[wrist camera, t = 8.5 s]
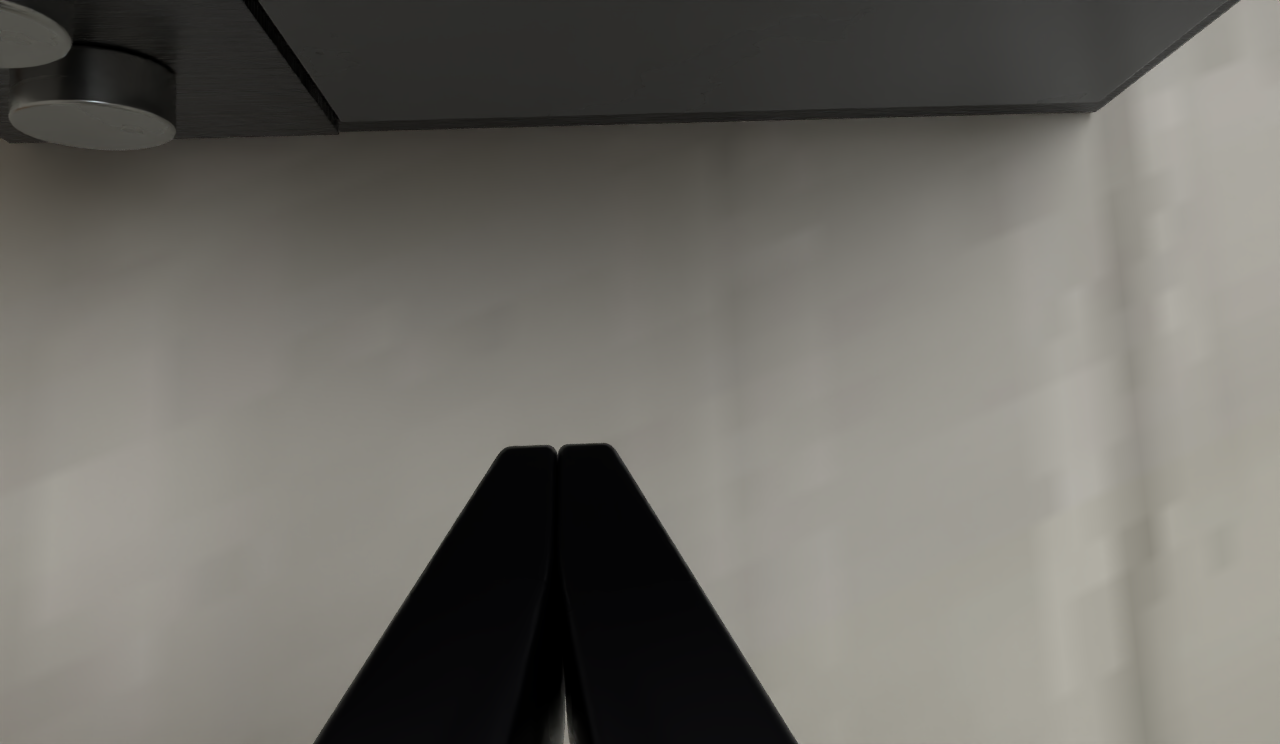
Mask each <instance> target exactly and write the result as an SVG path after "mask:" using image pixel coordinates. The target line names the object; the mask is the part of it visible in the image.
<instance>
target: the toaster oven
mask: <svg viewBox="0 0 1280 744" xmlns="http://www.w3.org/2000/svg"><path fill="white" fill-rule="evenodd" d="M1239 1H1240V0H0V138H2V139H4V140H5V141H7V142H9V143H39V142H51V143H55V144H60V145H65V146H70V147H77V148H85V149H95V150H137V149H145V148H151V147H156V146H159V145H163V144H165V143H168V142H169V141H171V140H172V139H190V138H228V137H265V136H303V135H338V134H339V132H350V131H388V130H426V129H464V128H502V127H539V126H577V125H615V124H653V123H691V122H729V121H767V120H805V119H843V118H880V117H918V116H956V115H994V114H1032V113H1070V112H1096V111H1098V110H1099V109H1101V108H1102V107H1103V106H1105V105H1106V104H1107V103H1108V102H1110V101H1111V100H1112V99H1114V98H1115V97H1116V96H1117V95H1119V94H1120V93H1121V92H1123V91H1124V90H1125V89H1127V88H1128V87H1129V86H1130V85H1132V84H1133V83H1134V82H1136V81H1137V80H1138V79H1139V78H1141V77H1142V76H1143V75H1145V74H1146V73H1147V72H1149V71H1150V70H1151V69H1152V68H1154V67H1155V66H1156V65H1158V64H1159V63H1160V62H1161V61H1163V60H1164V59H1165V58H1167V57H1168V56H1169V55H1171V54H1172V53H1173V52H1174V51H1176V50H1177V49H1178V48H1180V47H1181V46H1182V45H1183V44H1185V43H1186V42H1187V41H1189V40H1190V39H1191V38H1192V37H1194V36H1195V35H1196V34H1198V33H1199V32H1200V31H1202V30H1203V29H1204V28H1205V27H1207V26H1208V25H1209V24H1211V23H1212V22H1213V21H1214V20H1216V19H1217V18H1218V17H1220V16H1221V15H1222V14H1224V13H1225V12H1226V11H1227V10H1229V9H1230V8H1231V7H1233V6H1234V5H1235V4H1236V3H1238V2H1239Z"/></svg>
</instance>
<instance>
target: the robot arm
mask: <svg viewBox="0 0 1280 744" xmlns="http://www.w3.org/2000/svg"><path fill="white" fill-rule="evenodd" d="M565 696H566V711H567V725H568V733H569V742H570V744H798V743H797V741H796V740H795V738H794V736H793V735H792V733H791V732H790V730H789V728H788V727H787V725H786V723H785V722H784V720H783V719H782V717H781V715H780V714H779V712H778V711H777V709H776V707H775V706H774V704H773V703H772V701H771V699H770V698H769V696H768V694H767V693H766V691H765V690H764V688H763V686H762V685H761V683H760V682H759V680H758V678H757V677H756V675H755V674H754V672H753V670H752V669H751V667H750V665H749V664H748V662H747V661H746V659H745V657H744V656H743V654H742V653H741V651H740V649H739V648H738V646H737V644H736V643H735V641H734V640H733V638H732V636H731V635H730V633H729V632H728V630H727V628H726V627H725V625H724V624H723V622H722V620H721V619H720V617H719V615H718V614H717V612H716V611H715V609H714V607H713V606H712V604H711V603H710V601H709V599H708V598H707V596H706V595H705V593H704V591H703V590H702V588H701V586H700V585H699V583H698V582H697V580H696V578H695V577H694V575H693V574H692V572H691V570H690V569H689V567H688V566H687V564H686V562H685V561H684V559H683V557H682V556H681V554H680V553H679V551H678V549H677V548H676V546H675V545H674V543H673V541H672V540H671V538H670V537H669V535H668V533H667V532H666V530H665V528H664V527H663V525H662V524H661V522H660V520H659V519H658V517H657V516H656V514H655V512H654V511H653V509H652V508H651V506H650V504H649V503H648V501H647V499H646V498H645V496H644V495H643V493H642V491H641V490H640V488H639V487H638V485H637V483H636V482H635V480H634V479H633V477H632V475H631V474H630V472H629V470H628V469H627V467H626V466H625V464H624V462H623V461H622V459H621V458H620V456H619V454H618V453H617V451H616V450H615V449H614V448H613V447H612V446H611V445H609V444H607V443H587V444H566V445H563V446H562V447H561V448H560V449H559V451H558V455H557V451H556V450H555V448H554V447H552V446H550V445H532V446H510V447H506V448H504V449H503V450H502V451H501V452H500V453H499V454H498V456H497V457H496V459H495V460H494V462H493V463H492V465H491V466H490V468H489V470H488V471H487V473H486V474H485V476H484V477H483V479H482V480H481V482H480V484H479V485H478V487H477V488H476V490H475V491H474V493H473V495H472V496H471V498H470V499H469V501H468V502H467V504H466V505H465V507H464V509H463V510H462V512H461V513H460V515H459V516H458V518H457V520H456V521H455V523H454V524H453V526H452V527H451V529H450V530H449V532H448V534H447V535H446V537H445V538H444V540H443V541H442V543H441V545H440V546H439V548H438V549H437V551H436V552H435V554H434V555H433V557H432V559H431V560H430V562H429V563H428V565H427V566H426V568H425V570H424V571H423V573H422V574H421V576H420V577H419V579H418V580H417V582H416V584H415V585H414V587H413V588H412V590H411V591H410V593H409V595H408V596H407V598H406V599H405V601H404V602H403V604H402V605H401V607H400V609H399V610H398V612H397V613H396V615H395V616H394V618H393V620H392V621H391V623H390V624H389V626H388V627H387V629H386V630H385V632H384V634H383V635H382V637H381V638H380V640H379V641H378V643H377V644H376V646H375V648H374V649H373V651H372V652H371V654H370V655H369V657H368V659H367V660H366V662H365V663H364V665H363V666H362V668H361V669H360V671H359V673H358V674H357V676H356V677H355V679H354V680H353V682H352V684H351V685H350V687H349V688H348V690H347V691H346V693H345V694H344V696H343V698H342V699H341V701H340V702H339V704H338V705H337V707H336V709H335V710H334V712H333V713H332V715H331V716H330V718H329V719H328V721H327V723H326V724H325V726H324V727H323V729H322V730H321V732H320V734H319V735H318V737H317V738H316V740H315V741H314V743H313V744H563V741H564V729H565Z"/></svg>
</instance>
